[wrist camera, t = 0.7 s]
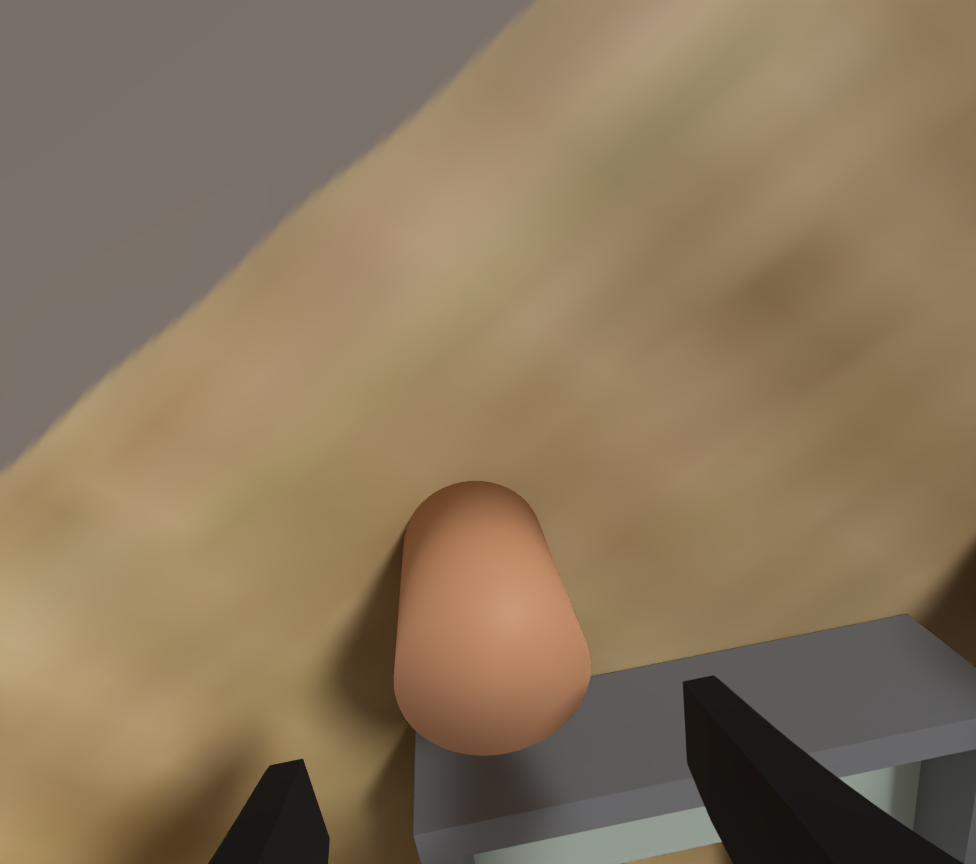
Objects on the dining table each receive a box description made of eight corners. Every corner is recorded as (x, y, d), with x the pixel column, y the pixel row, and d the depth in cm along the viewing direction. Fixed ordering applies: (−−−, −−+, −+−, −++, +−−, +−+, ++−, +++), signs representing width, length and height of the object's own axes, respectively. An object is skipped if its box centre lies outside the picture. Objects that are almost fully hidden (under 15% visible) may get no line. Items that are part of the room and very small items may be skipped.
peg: (532, 469, 18) (580, 575, 12) (549, 590, 20) (599, 734, 14) (390, 495, 18) (374, 614, 12) (417, 615, 19) (414, 771, 14)
